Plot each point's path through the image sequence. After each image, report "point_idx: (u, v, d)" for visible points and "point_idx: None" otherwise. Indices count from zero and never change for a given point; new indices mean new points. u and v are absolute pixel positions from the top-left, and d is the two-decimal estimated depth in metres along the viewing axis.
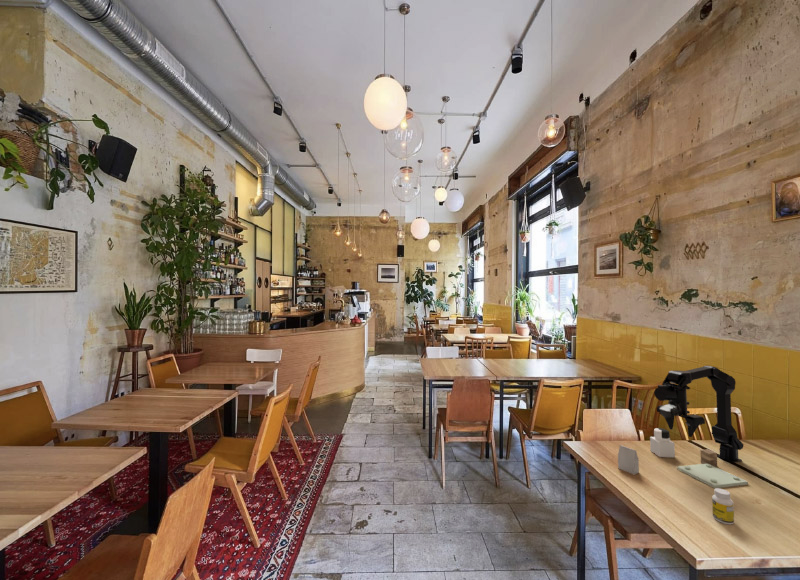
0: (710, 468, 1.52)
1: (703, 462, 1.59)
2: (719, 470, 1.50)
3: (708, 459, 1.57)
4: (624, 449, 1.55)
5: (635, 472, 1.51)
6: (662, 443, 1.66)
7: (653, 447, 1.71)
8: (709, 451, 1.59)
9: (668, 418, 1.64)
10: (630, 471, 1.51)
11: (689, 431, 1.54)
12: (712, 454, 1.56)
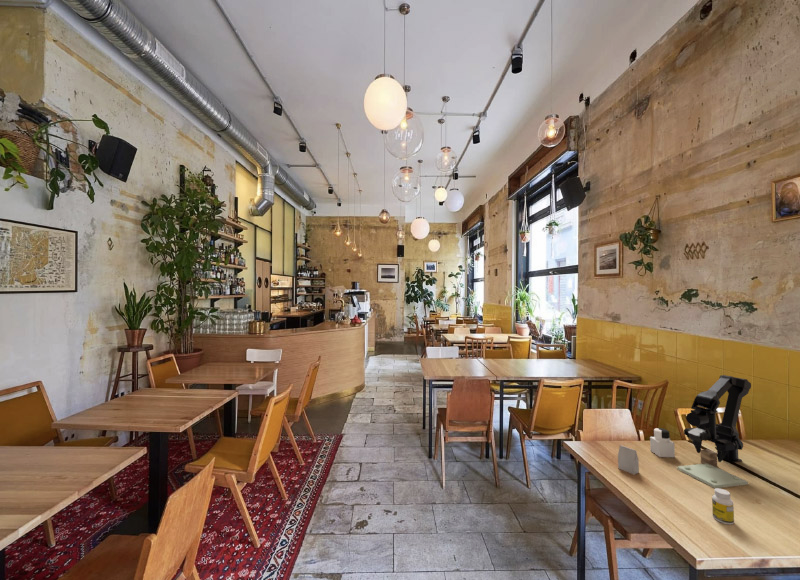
0: (710, 468, 1.52)
1: (703, 462, 1.59)
2: (719, 470, 1.50)
3: (708, 459, 1.57)
4: (624, 449, 1.55)
5: (635, 472, 1.51)
6: (662, 443, 1.66)
7: (653, 447, 1.71)
8: (709, 451, 1.59)
9: (696, 441, 1.63)
10: (630, 471, 1.51)
11: (719, 456, 1.53)
12: (712, 454, 1.56)
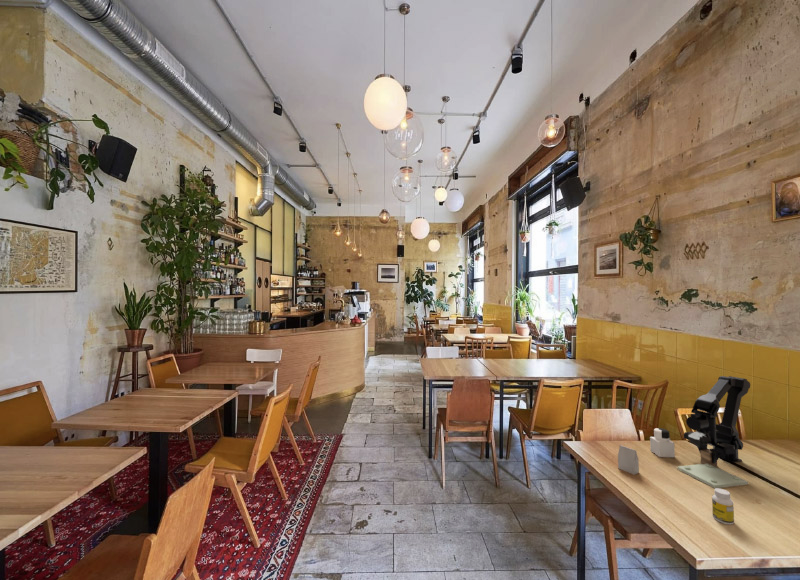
0: (710, 468, 1.52)
1: (703, 462, 1.59)
2: (719, 470, 1.50)
3: (708, 459, 1.57)
4: (624, 449, 1.55)
5: (635, 472, 1.51)
6: (662, 443, 1.66)
7: (653, 447, 1.71)
8: (709, 450, 1.59)
9: (701, 447, 1.61)
10: (630, 471, 1.51)
11: (713, 458, 1.55)
12: None
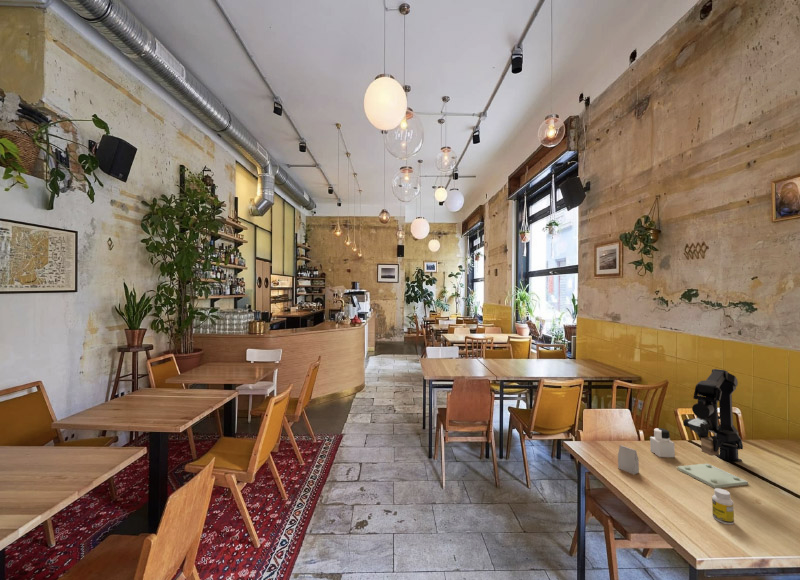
0: (710, 468, 1.52)
1: (704, 450, 1.49)
2: (719, 470, 1.50)
3: (709, 447, 1.46)
4: (624, 449, 1.55)
5: (635, 472, 1.51)
6: (662, 443, 1.66)
7: (653, 447, 1.71)
8: (710, 438, 1.49)
9: (702, 435, 1.51)
10: (630, 471, 1.51)
11: (714, 445, 1.45)
12: None
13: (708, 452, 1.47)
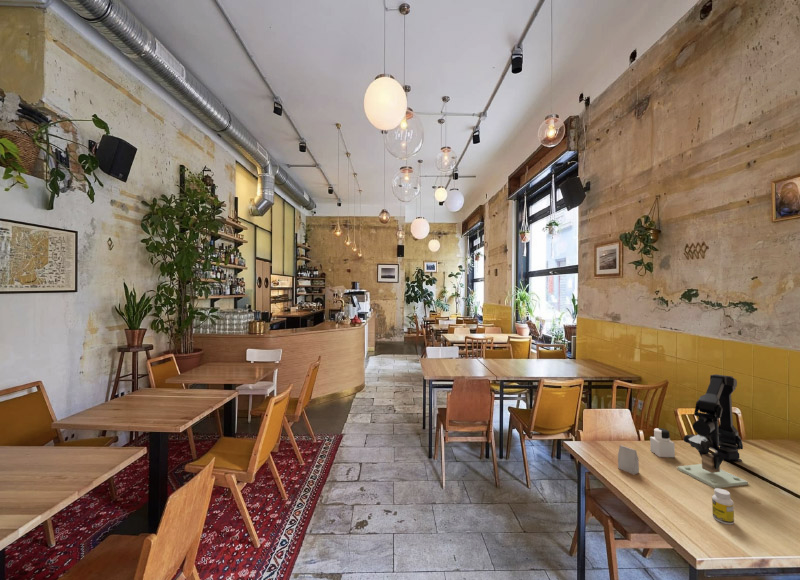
0: None
1: (704, 467, 1.48)
2: None
3: (710, 464, 1.46)
4: (624, 449, 1.55)
5: (635, 472, 1.51)
6: (662, 443, 1.66)
7: (653, 447, 1.71)
8: (710, 455, 1.48)
9: (702, 452, 1.50)
10: (630, 471, 1.51)
11: (715, 463, 1.45)
12: None
13: (709, 469, 1.47)
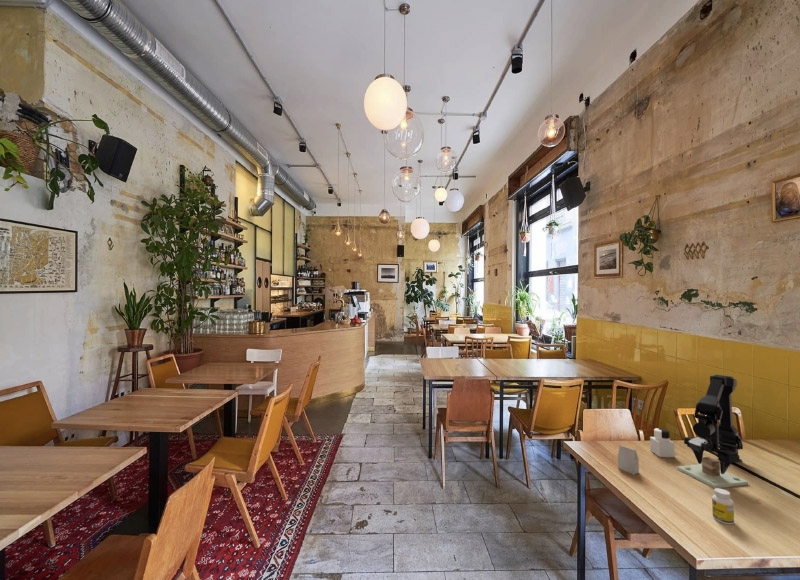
0: None
1: (705, 471, 1.48)
2: None
3: (710, 468, 1.46)
4: (624, 449, 1.55)
5: (635, 472, 1.51)
6: (662, 443, 1.66)
7: (653, 447, 1.71)
8: (711, 458, 1.48)
9: (697, 451, 1.53)
10: (630, 471, 1.51)
11: (721, 468, 1.43)
12: (714, 462, 1.46)
13: (709, 473, 1.47)
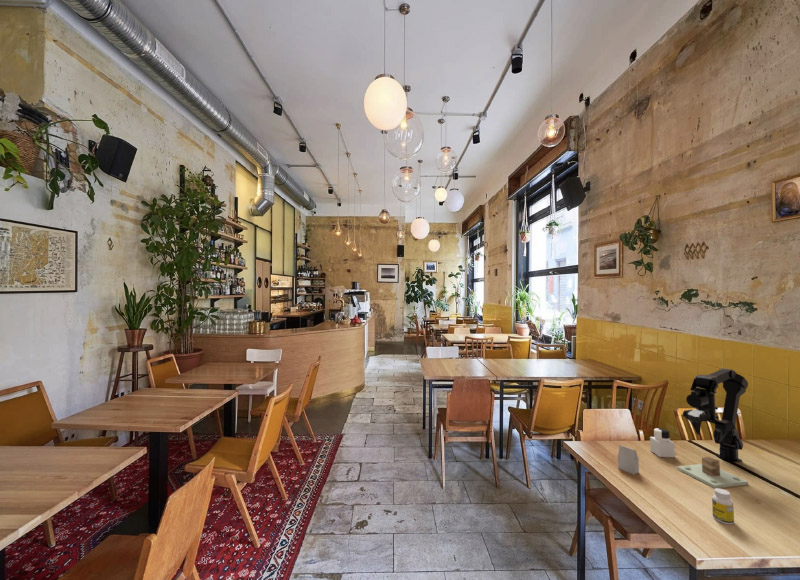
0: None
1: (705, 471, 1.48)
2: None
3: (710, 468, 1.46)
4: (624, 449, 1.55)
5: (635, 472, 1.51)
6: (662, 443, 1.66)
7: (653, 447, 1.71)
8: (711, 458, 1.48)
9: (695, 423, 1.62)
10: (630, 471, 1.51)
11: (719, 437, 1.52)
12: (714, 462, 1.46)
13: (709, 473, 1.47)
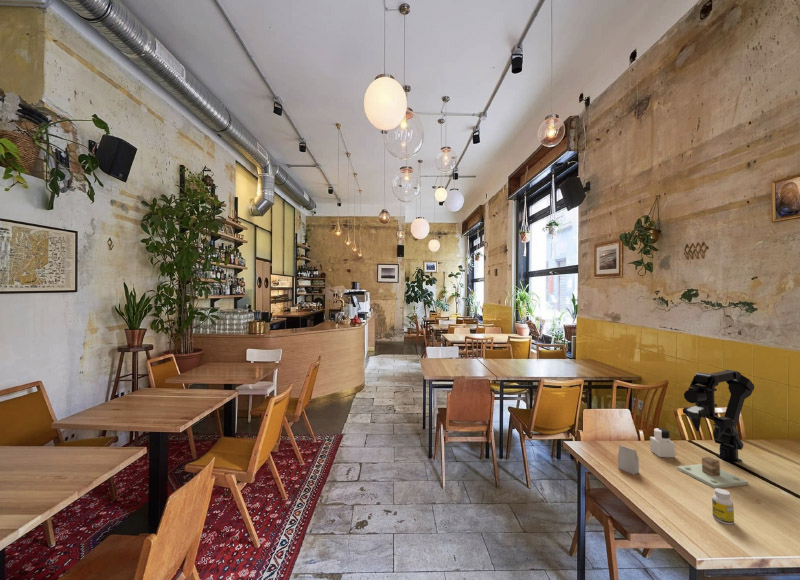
0: None
1: (705, 471, 1.48)
2: None
3: (710, 468, 1.46)
4: (624, 449, 1.55)
5: (635, 472, 1.51)
6: (662, 443, 1.66)
7: (653, 447, 1.71)
8: (711, 458, 1.48)
9: (694, 420, 1.65)
10: (630, 471, 1.51)
11: (717, 433, 1.54)
12: (714, 462, 1.46)
13: (709, 473, 1.47)
